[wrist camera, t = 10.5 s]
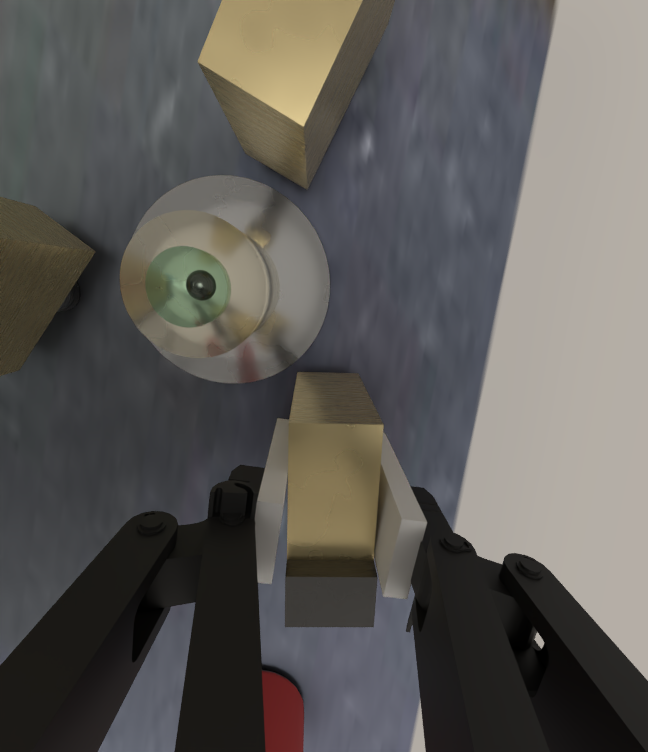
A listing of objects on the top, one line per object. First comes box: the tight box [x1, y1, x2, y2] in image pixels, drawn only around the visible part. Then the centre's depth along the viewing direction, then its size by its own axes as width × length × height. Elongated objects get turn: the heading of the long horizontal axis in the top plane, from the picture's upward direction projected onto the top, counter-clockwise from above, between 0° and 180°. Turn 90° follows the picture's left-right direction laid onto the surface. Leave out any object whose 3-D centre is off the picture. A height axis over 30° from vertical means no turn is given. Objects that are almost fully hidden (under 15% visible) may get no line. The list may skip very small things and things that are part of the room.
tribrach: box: [58, 175, 330, 384], centre depth 16 cm, size 18×16×8 cm
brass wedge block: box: [285, 372, 384, 627], centre depth 16 cm, size 7×3×8 cm, turn 178°
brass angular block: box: [198, 0, 395, 190], centre depth 12 cm, size 7×3×8 cm, turn 152°
